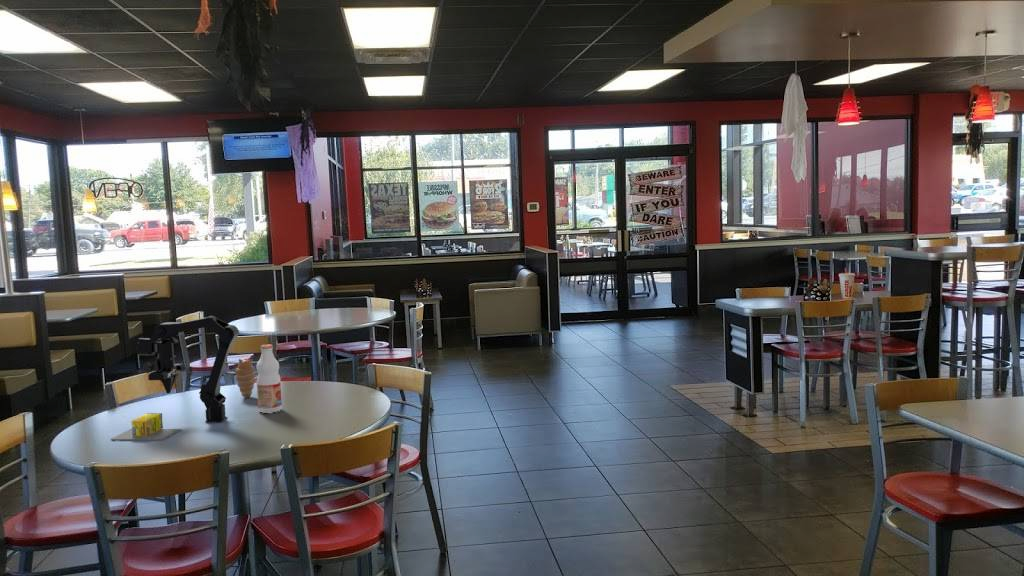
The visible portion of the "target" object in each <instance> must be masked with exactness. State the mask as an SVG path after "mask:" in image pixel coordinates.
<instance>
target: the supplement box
mask: <svg viewBox="0 0 1024 576" xmlns="http://www.w3.org/2000/svg"><path fill="white" fill-rule="evenodd" d="M131 427H132V428H131V429H132V434H133V436H148V435H150V434H152V433H154V432H156V431H158V430H160V429H164V425H163V413H162V412H160V413H157V412H156V413H155V412H154V413H152V412H148V413H146V414H143V415H141V416H139V417H137V418H135V419H132V420H131Z"/></svg>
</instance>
